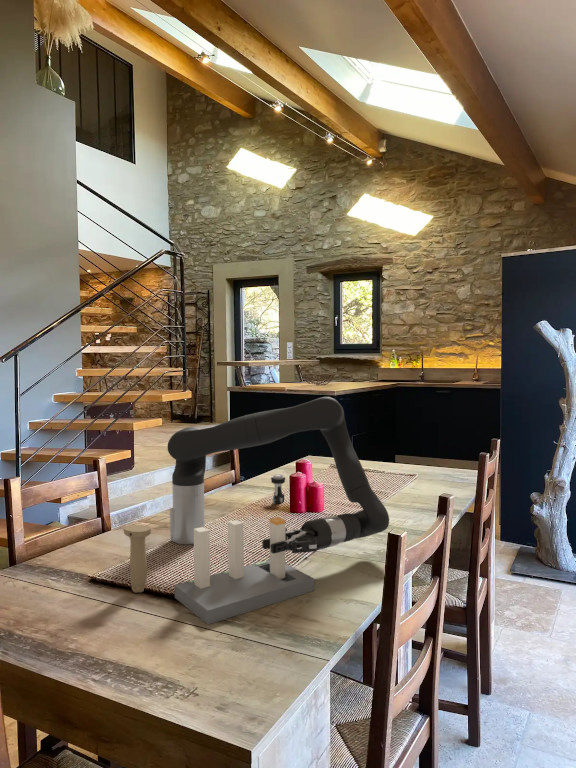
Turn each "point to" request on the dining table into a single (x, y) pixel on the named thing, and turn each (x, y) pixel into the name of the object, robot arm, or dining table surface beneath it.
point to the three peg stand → (235, 581)
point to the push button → (278, 488)
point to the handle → (138, 555)
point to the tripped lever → (276, 536)
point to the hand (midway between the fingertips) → (267, 546)
